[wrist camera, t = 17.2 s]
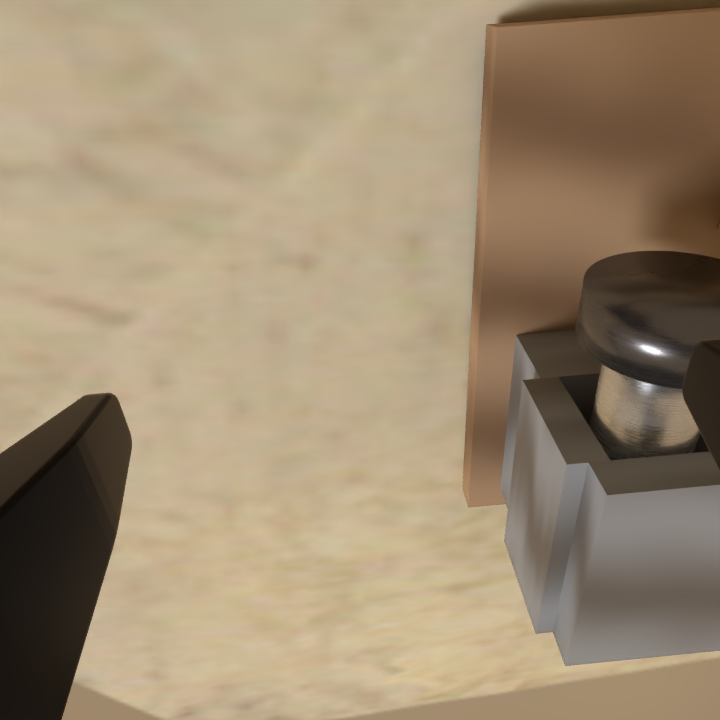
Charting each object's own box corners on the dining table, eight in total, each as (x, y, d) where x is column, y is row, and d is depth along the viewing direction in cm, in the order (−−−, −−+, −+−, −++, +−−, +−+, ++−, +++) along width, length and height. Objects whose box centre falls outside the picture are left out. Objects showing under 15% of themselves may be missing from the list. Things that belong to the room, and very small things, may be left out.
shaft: (558, 257, 17) (632, 342, 13) (716, 244, 17) (838, 323, 13) (515, 570, 25) (553, 681, 21) (624, 559, 25) (682, 668, 21)
